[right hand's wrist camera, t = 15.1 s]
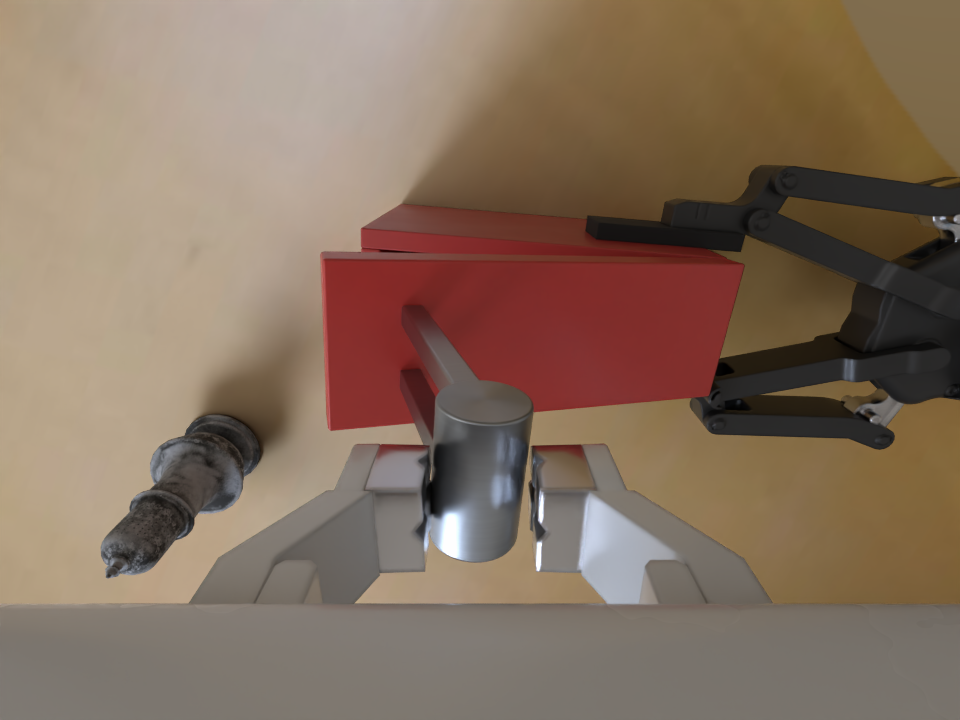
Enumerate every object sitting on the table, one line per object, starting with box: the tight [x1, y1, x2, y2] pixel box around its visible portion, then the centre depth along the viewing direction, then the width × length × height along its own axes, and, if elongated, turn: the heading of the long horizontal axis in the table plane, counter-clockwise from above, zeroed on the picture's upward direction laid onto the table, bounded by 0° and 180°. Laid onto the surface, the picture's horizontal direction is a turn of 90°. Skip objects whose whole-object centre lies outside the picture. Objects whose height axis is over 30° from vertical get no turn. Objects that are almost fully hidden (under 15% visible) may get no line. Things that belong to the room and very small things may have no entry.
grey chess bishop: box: [101, 415, 260, 578], centre depth 31 cm, size 6×6×12 cm
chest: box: [361, 204, 727, 259], centre depth 27 cm, size 15×6×10 cm, turn 86°
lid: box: [320, 252, 744, 562], centre depth 15 cm, size 16×6×9 cm, turn 85°
